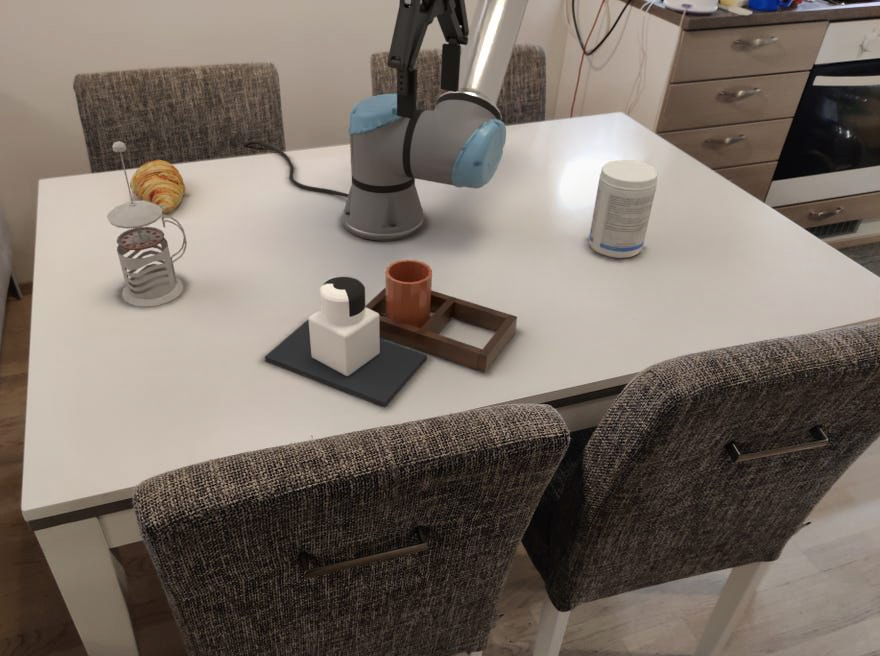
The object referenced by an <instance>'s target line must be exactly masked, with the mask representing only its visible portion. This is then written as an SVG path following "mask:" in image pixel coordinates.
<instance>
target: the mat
mask: <svg viewBox="0 0 880 656" xmlns="http://www.w3.org/2000/svg"><path fill="white" fill-rule="evenodd" d="M264 359H265V362H268V363H271V364H272V365H275V366H278V367H280V368H283V369H286V370H288V371H290V372H294V373H296V374H298V375H301V376H304V377H306V378H309V379H312V380H314V381H317V382H320V383H322V384H325V385H327V386H330V387H332V388H335V389H337V390H340V391H342V392H346V393H348V394H350V395H353V396H355V397H358V398H360V399H363V400H366V401H368V402H371V403H373V404H375V405H379V406H381V407H383V408H386V407H387V405H388V404H390V402H391V401H392V400H393V398H394V397H396V395H397V394H398V393H399V392H400V390H401V389H402V388H403V387H404V386H405V385H406V384H407V382H409V380H410V379H411V378H412V377H413V376H414V374H416V372H417V371H418V370H419V369H420V367H421V366H422V365H423V364H424V363H425V362H426V361H427V359H428V355H427V354H425V353H422V352H420V351H416V350H413V349H410V348H408V347H405V346H401V345H399V344H396V343H393V342H390V341H387V340H386V339H385V340H384V339H382V338H380V353H379V354H378V355H377V356H375V357H374V358H373V359H371V360H370V361H368V362H367V363H366V364H364V365H363V366H362V367H360V368H359V369H357V370H356V371H355V372H353V373H352V374H351V375H349V376H345V375H343V374H342V373H340V372H338V371H336V370H334V369H332V368H331V367H329V366H327V365H325V364H323V363H321V362H319V361H318V360H316V359H314V358H312V355H311V343H310V332H309V320H308V319H306V321H304V322H303V323H302V324H301V325H300V326H298V327H297V328H296V329H295V330H294V331H293V332H291V334H289V335H288V336H287V337H286V338H285V339H284V340H282V341H281V342H280V343H279V344H278V345H277V346H275V347H274V348H273V349H271V351H269V352H268V353H267V354H266V355H265V356H264Z"/></svg>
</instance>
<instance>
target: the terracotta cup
mask: <svg viewBox="0 0 880 656" xmlns="http://www.w3.org/2000/svg"><path fill="white" fill-rule="evenodd" d="M432 285H433V270H432V268H431V266H430V265H428V264H426V263H425V262H423V261H419V260H416V259H403V260H397V261H394V262H392V263H390V264H389V265H388V266H387V267H386V269H385V287H386V311H385V317H387V318H390V319H393V320H396V321H399V322H402V323H405V324H408V325H411V326H414V327H417V328H421V327H422V326H423V325H424V324H425V323H426V322H427V321H428V320H429V318H430V317H431V312H432V311H431V290H432Z"/></svg>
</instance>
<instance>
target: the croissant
mask: <svg viewBox="0 0 880 656" xmlns="http://www.w3.org/2000/svg"><path fill="white" fill-rule="evenodd" d="M129 187H130V190H131V191H132V192H131V193H133V194H134V195H135V196H137V197H138V198H139V200H140V201H142V200H144V201H147V202H151V203H154V204H156V205H159V206H160V207H161V209H162V213H170V212H172V211H174V210H175V209H176V208H177V207H178V206H179V205H180V204H181V201H182V200H183V198H184V195H185V193H186V184H185V183H184V178H183V177H182V174H181V173H180V171H179V170H178V168H177V167H176V166H175V165H173V164H172V163H170V162H169V161H166V160H162V159H160V158H157V159H155V160H154V159H153V160H150V161H147V162H144V164H141V166H139V167H138V168H137V170H135V172H134V174H133V175H132V177H131V179H130V182H129Z"/></svg>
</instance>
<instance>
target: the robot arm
mask: <svg viewBox="0 0 880 656" xmlns="http://www.w3.org/2000/svg"><path fill="white" fill-rule="evenodd" d="M528 3H529V0H477V2H476V5H475V9H474V11H473V13H472V18H471V22H470V24H469V21H468V20H469V19H468V14H467V7H466V2H465V0H399V4H398V10H397V15H396V18H395V19H396V20H395V25H394V29H393V34H392V38H391V43H390V48H389V52H388V56H387V63H386V65H387V67H388V68H390V69H395V70H396V93H385V94H383V93H382V94H378V95H374V96H373V95H372V96H370V97H366V98H364V99H361V100H359V101H357V102H356V103H355V104H354V105H353V106H352V107H351V110H350V113H349V129H348V135H349V148H350V149H349V150H350V174H351V185H350V189H349V192H348V193H346V192H342V191H339V190H333V189H328V188H322V187H315V186H310V185H306V184H302V183H300V182H299V181H297V180H295V179H294V170H295V167H294V165H293V162H292V161H291V159H290V158H289V156H288V155H287V154H286V153H285V151H282V150H281V149H278V148H276V147H274V146H272V145H270V144H267V143H265V142H261V141H259V140H249V141H247V142H245V143H244V144H243V148H244V147H245V148H247V147H249V146H250V145H257V146H261V147H265V148H267V149H269V150H271V151H273V152H275V153H277V154H279V155H280V156H282V157H283V158H284V159H285V160H286V162H287V164H288V165H289V169H290V170H289V180H290V182H291V183H292V184H293V185H295V186H296V187H299V188H301V189H305V190H308V191H314V192H321V193H326V194H327V193H328V194H332V195H335V196H336V195H337V196H341V197H344V198H346V202H345V205H344V208H343V215H342V218H343V219H342V220H343V227H344V228H345V229H346V230H347V232H348V233H350V234H352V235H354V236H356V237H359V238H362V239H365V240H371V241H377V242H379V241H380V242H383V241H384V242H385V241H396V240H402V239H405V238H408V237H411V236H414V235H415V234H417V233H418V232H419V231H420V230H421V229H422V228H423V226H424V218H425V217H424V209H423V205H422V203H421V200H420V197H419V194H418V190H417V187H416V180H421V181H426V182H433V183H437V184H442V185H449V186H454V187H455V188H460V189H461V188H467V189H469V188H470V189H480V188H483V187H485V186H486V185H487V184H489V182H490V181H491V180H492V179H493V177H494V175H495V173H496V171H497V170H498V168H499V165H500V162H501V160H502V157H503V154H504V147H505V145H506V139H507V128H506V124H505V123H504V122H503V121H502V113H501V111H500V109H499V107H498V106H497V104H498V101H499V98H500V95H501V91H502V88H503V86H504V81H505V78H506V76H507V72H508V70H509V69H508V68H509V65H510V62H511V58H512V55H513V52H514V50H515V45H516V42H517V39H518V35H519V33H520V29H521V25H522V22H523V20H524V17H525V12H526V9H527V6H528ZM435 18H436V19H437V22H438V25H439V27H440V29H441V30H440V31H441V32H442V36H443V38H444V39H445V43H442V45H441V67H440V68H441V69H440V90H442V91H446V92H444V93H442V94H441V95H439V97H438V98H437V100H436V103H435V107H434V109H433V110H429V109H422V108H418V106H419V104H418V100H417V99H418V97H417V95H418V69H417V68H415V65H416V63H417V60H418V57H419V54H420V51H421V47H422V45H423V42H424V39H425V36H426V33H427V30H428V28H429V25H432V24H433V23H434V21H435V20H434V19H435ZM415 179H416V180H415Z"/></svg>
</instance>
